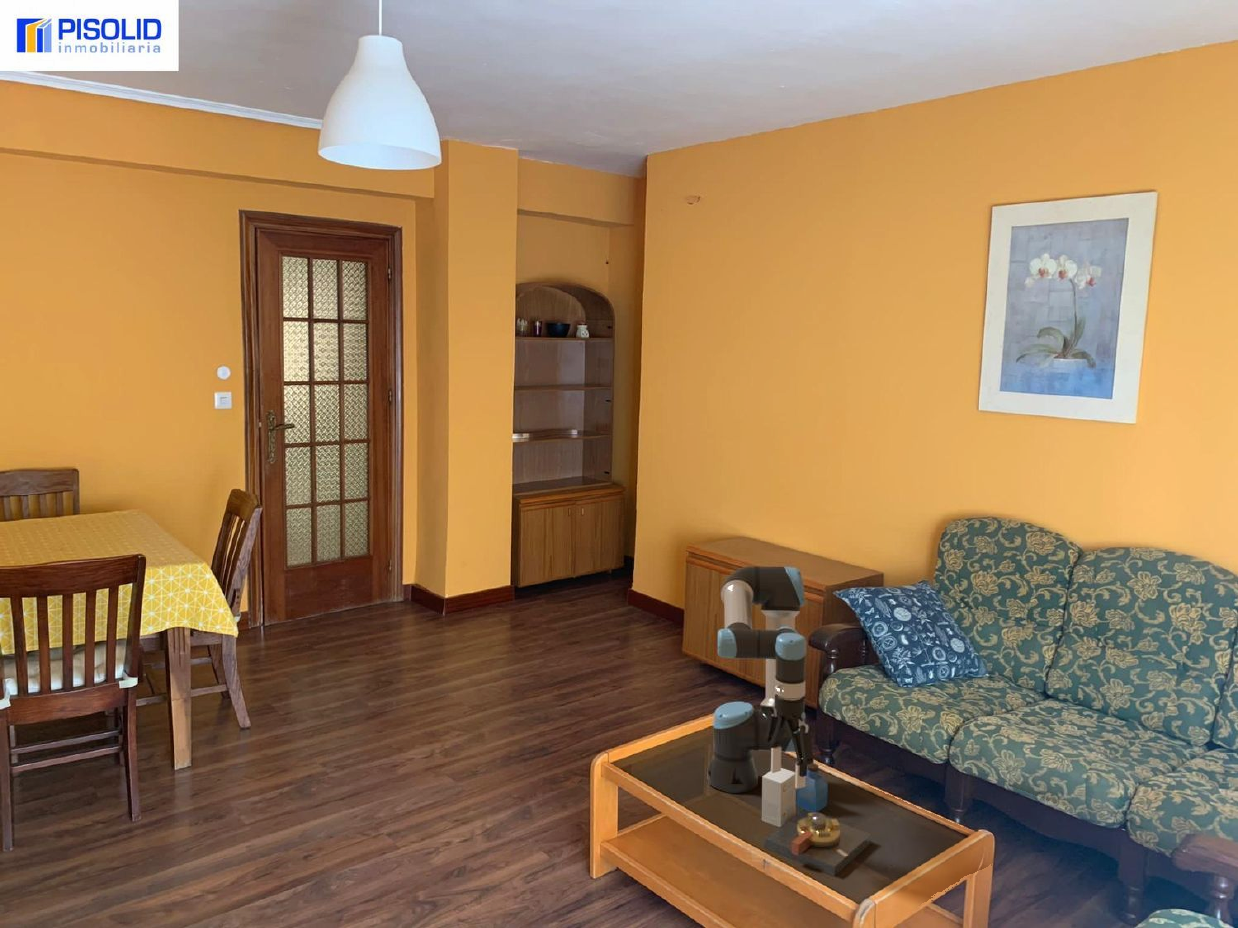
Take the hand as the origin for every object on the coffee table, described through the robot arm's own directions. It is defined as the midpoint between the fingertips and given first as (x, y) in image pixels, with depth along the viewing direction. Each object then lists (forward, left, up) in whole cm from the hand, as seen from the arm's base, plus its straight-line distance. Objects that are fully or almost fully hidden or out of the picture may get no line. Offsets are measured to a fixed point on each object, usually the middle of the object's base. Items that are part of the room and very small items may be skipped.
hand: (787, 778), depth 239 cm
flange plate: (+5, +7, -19) cm, 21 cm away
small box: (-10, +12, -20) cm, 25 cm away
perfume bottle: (-7, +25, -20) cm, 33 cm away
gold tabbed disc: (+5, +4, -17) cm, 18 cm away
